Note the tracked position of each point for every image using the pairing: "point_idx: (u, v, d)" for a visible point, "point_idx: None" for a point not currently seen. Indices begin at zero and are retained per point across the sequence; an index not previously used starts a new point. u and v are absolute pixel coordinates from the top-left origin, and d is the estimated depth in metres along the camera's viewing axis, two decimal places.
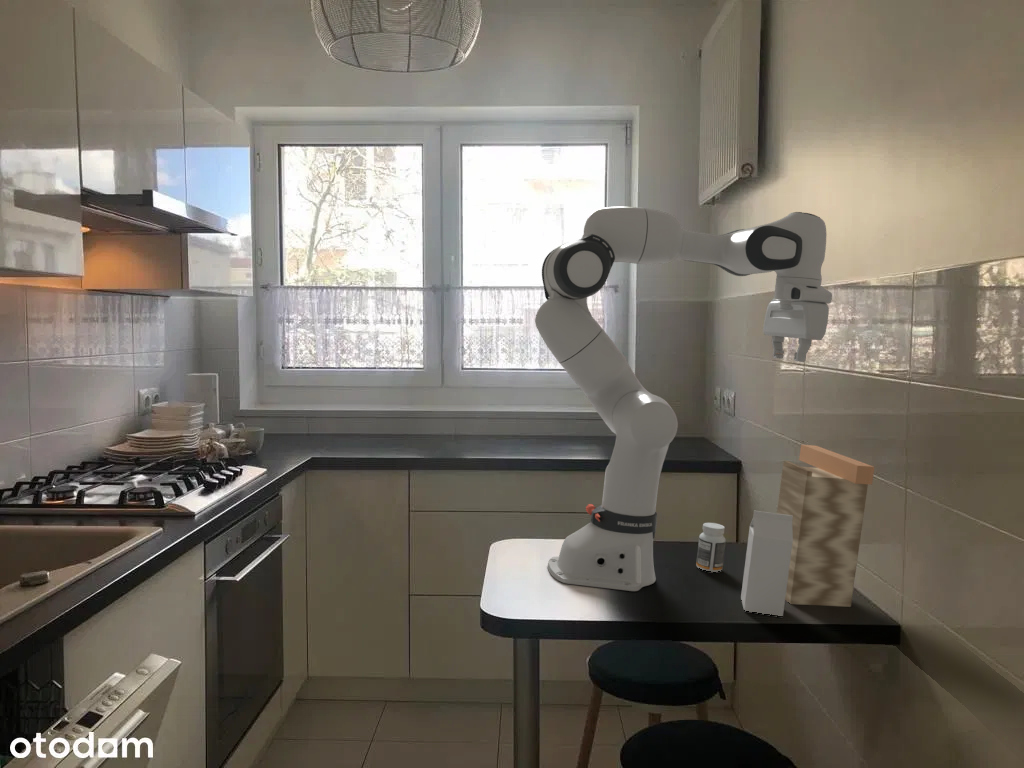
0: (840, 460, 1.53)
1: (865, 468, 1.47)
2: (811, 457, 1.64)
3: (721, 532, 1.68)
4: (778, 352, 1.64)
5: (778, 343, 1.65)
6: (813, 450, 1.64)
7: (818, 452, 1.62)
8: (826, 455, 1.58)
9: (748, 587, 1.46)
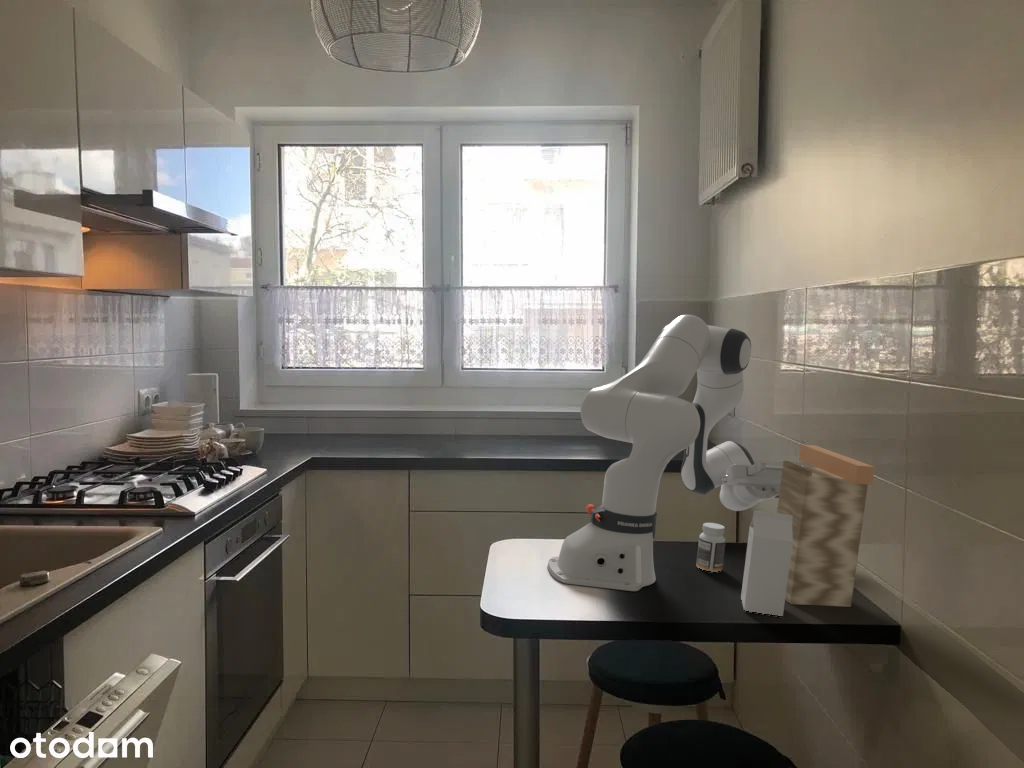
0: (840, 460, 1.53)
1: (865, 468, 1.47)
2: (811, 457, 1.64)
3: (721, 532, 1.68)
4: None
5: None
6: (813, 450, 1.64)
7: (818, 452, 1.62)
8: (826, 455, 1.58)
9: (748, 587, 1.46)
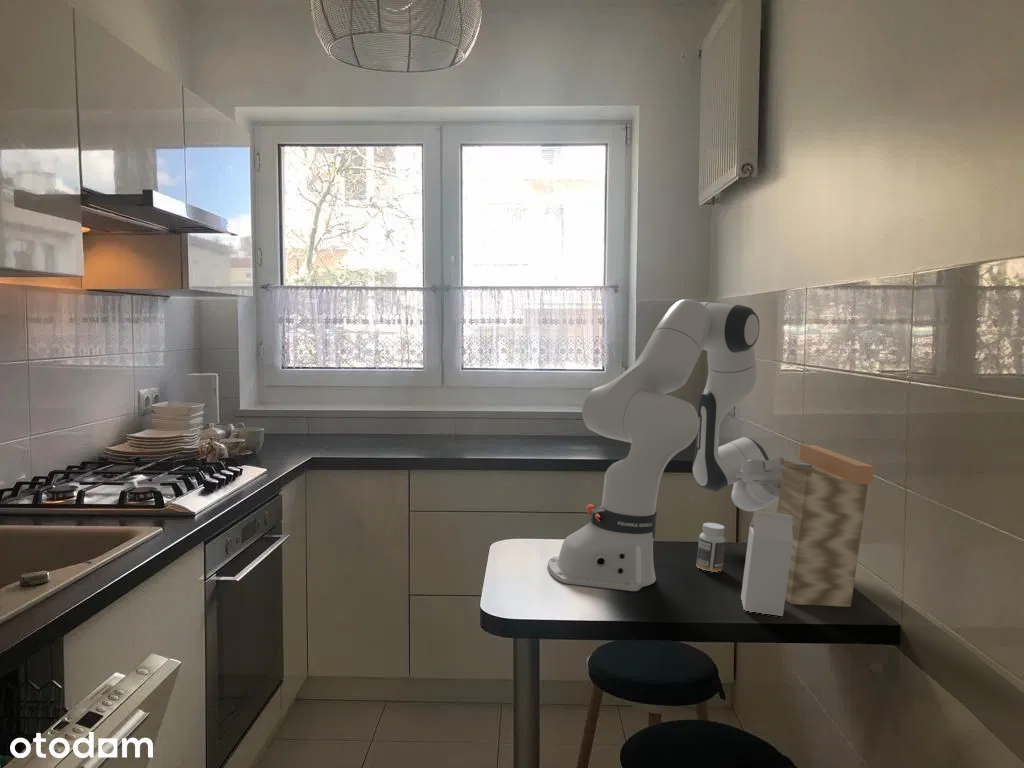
0: (840, 460, 1.53)
1: (865, 468, 1.47)
2: (811, 457, 1.64)
3: (721, 532, 1.68)
4: None
5: None
6: (813, 450, 1.64)
7: (818, 452, 1.62)
8: (826, 455, 1.58)
9: (748, 587, 1.46)
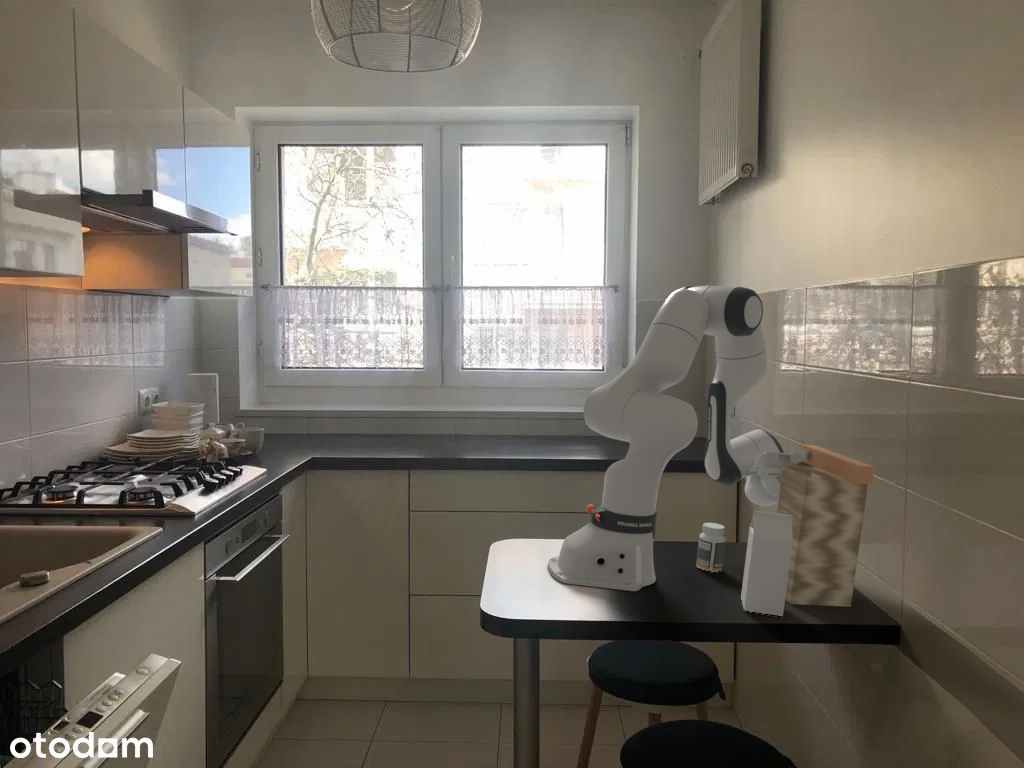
0: (840, 460, 1.53)
1: (865, 468, 1.47)
2: (811, 457, 1.64)
3: (721, 532, 1.68)
4: None
5: None
6: (813, 450, 1.64)
7: (818, 452, 1.62)
8: (826, 455, 1.58)
9: (748, 587, 1.46)
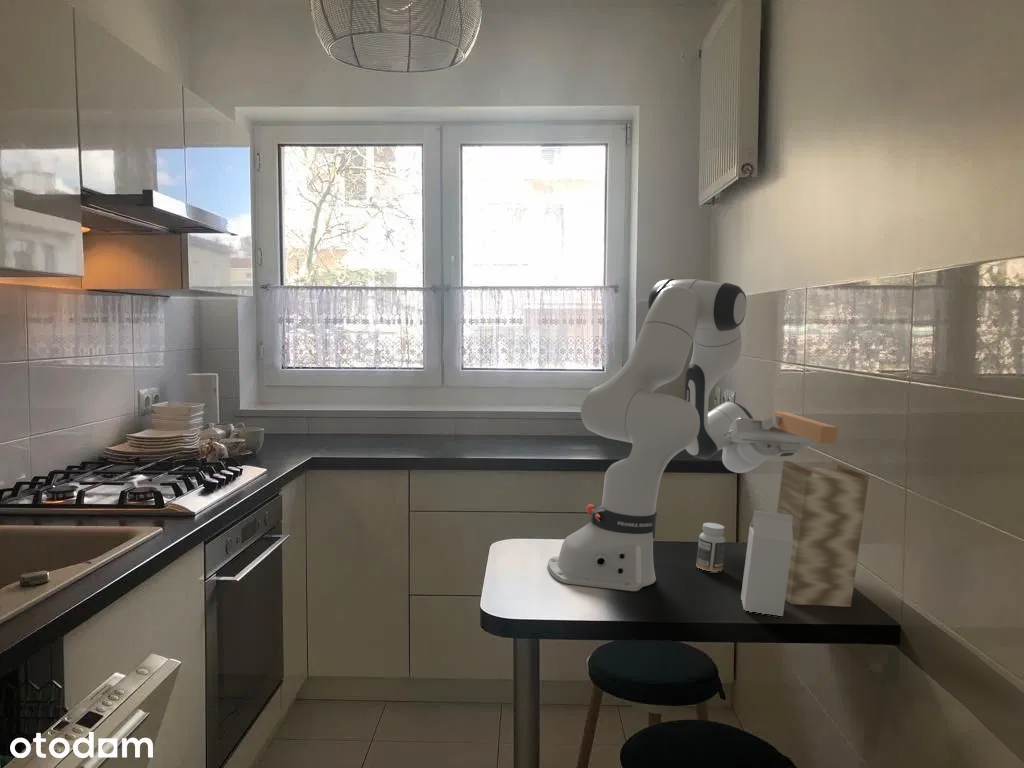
0: (807, 422, 1.63)
1: (829, 428, 1.57)
2: None
3: (721, 532, 1.68)
4: None
5: None
6: (783, 415, 1.73)
7: (787, 417, 1.71)
8: (794, 419, 1.68)
9: (748, 587, 1.46)
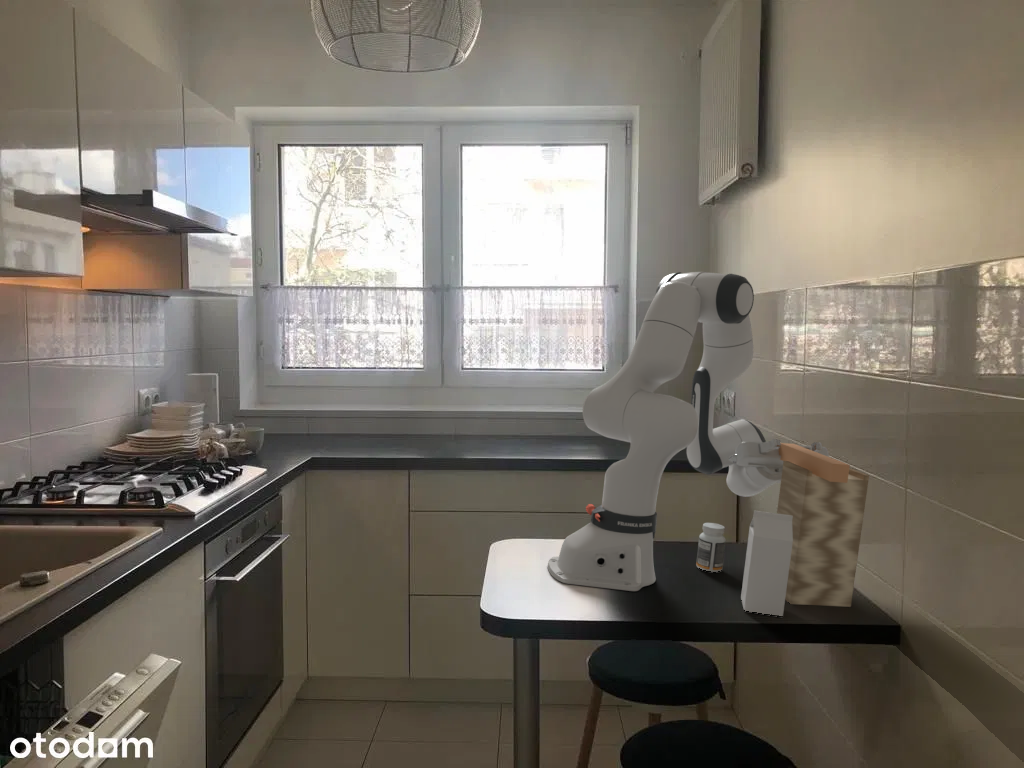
0: (816, 458, 1.53)
1: (840, 466, 1.47)
2: (789, 455, 1.64)
3: (721, 532, 1.68)
4: None
5: None
6: (790, 448, 1.63)
7: (795, 450, 1.61)
8: (803, 453, 1.58)
9: (748, 587, 1.46)
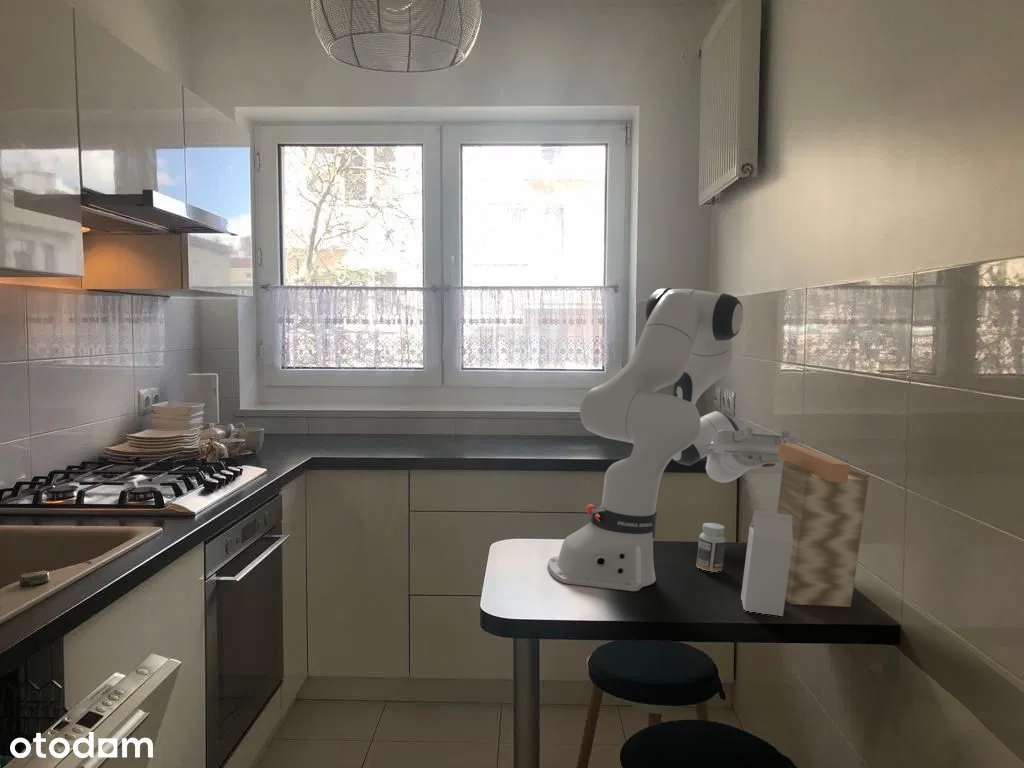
0: (816, 458, 1.53)
1: (840, 466, 1.47)
2: (789, 455, 1.64)
3: (721, 532, 1.68)
4: None
5: None
6: (790, 448, 1.63)
7: (795, 450, 1.61)
8: (803, 453, 1.58)
9: (748, 587, 1.46)
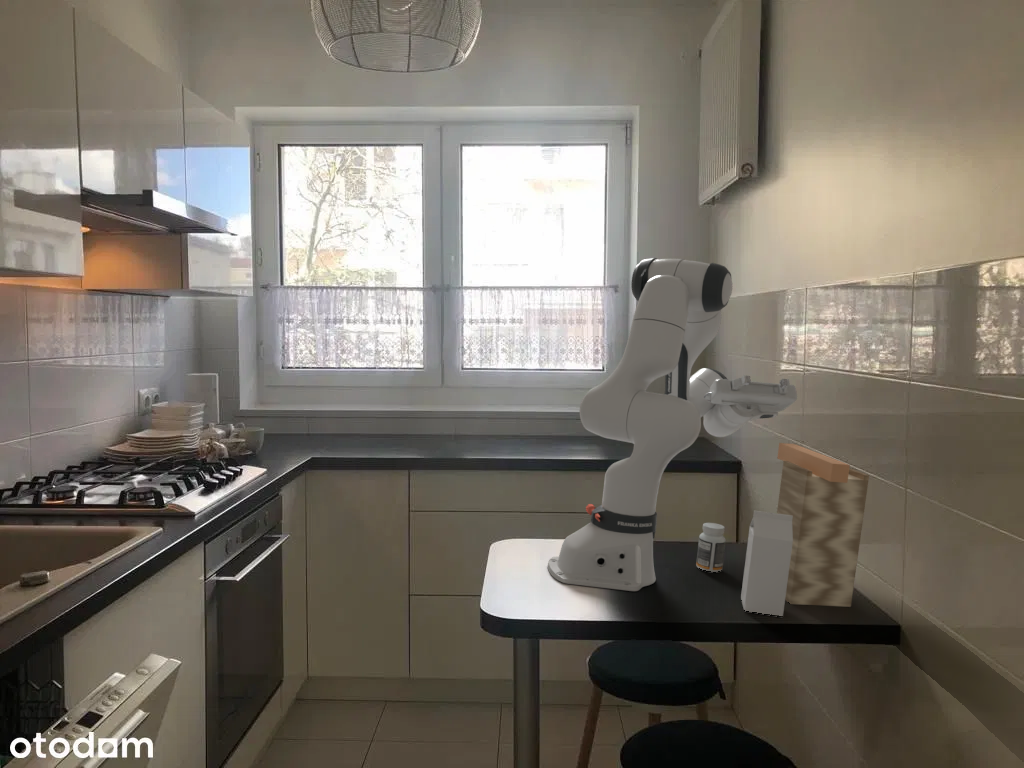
0: (816, 458, 1.53)
1: (840, 466, 1.47)
2: (789, 455, 1.64)
3: (721, 532, 1.68)
4: None
5: None
6: (790, 448, 1.63)
7: (795, 450, 1.61)
8: (803, 453, 1.58)
9: (748, 587, 1.46)
